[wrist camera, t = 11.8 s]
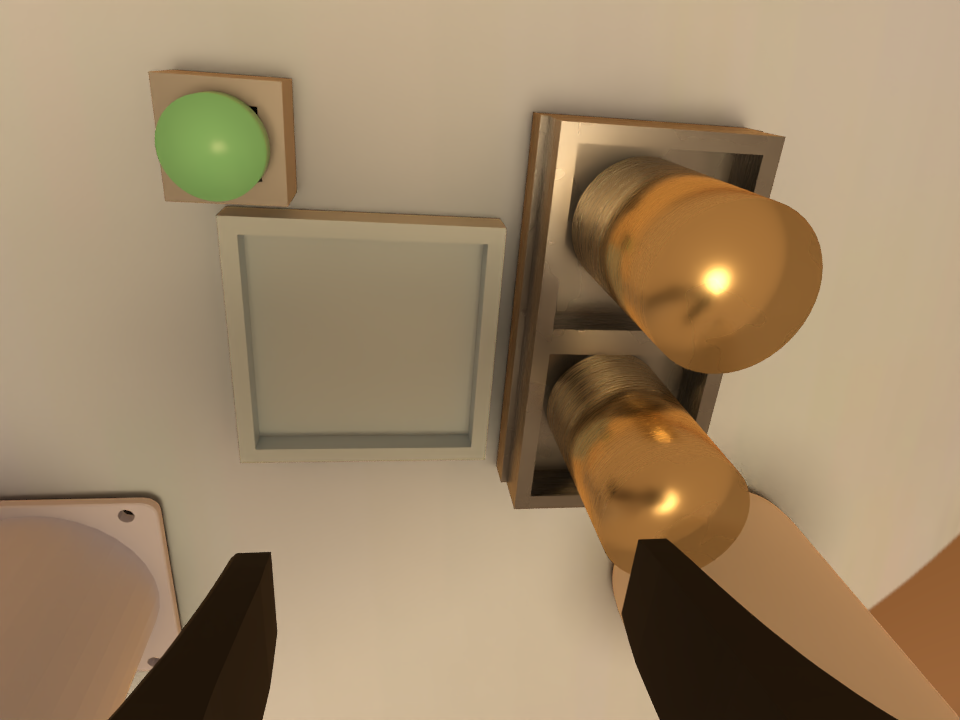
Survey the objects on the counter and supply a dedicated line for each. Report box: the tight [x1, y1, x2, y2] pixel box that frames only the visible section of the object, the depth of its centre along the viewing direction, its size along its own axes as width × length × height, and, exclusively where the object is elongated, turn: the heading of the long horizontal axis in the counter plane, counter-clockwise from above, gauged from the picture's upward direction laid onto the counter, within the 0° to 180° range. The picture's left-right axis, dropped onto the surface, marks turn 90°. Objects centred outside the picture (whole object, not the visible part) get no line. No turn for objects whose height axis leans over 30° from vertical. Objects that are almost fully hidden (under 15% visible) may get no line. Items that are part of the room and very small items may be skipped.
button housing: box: [148, 70, 297, 207], centre depth 17 cm, size 3×3×2 cm
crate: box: [496, 112, 785, 509], centre depth 20 cm, size 7×12×2 cm, turn 176°
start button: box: [155, 91, 270, 202], centre depth 16 cm, size 2×2×3 cm
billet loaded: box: [547, 355, 750, 574], centre depth 19 cm, size 4×4×6 cm
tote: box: [216, 206, 507, 463], centre depth 20 cm, size 8×8×1 cm
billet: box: [572, 156, 823, 374], centre depth 17 cm, size 4×4×6 cm
